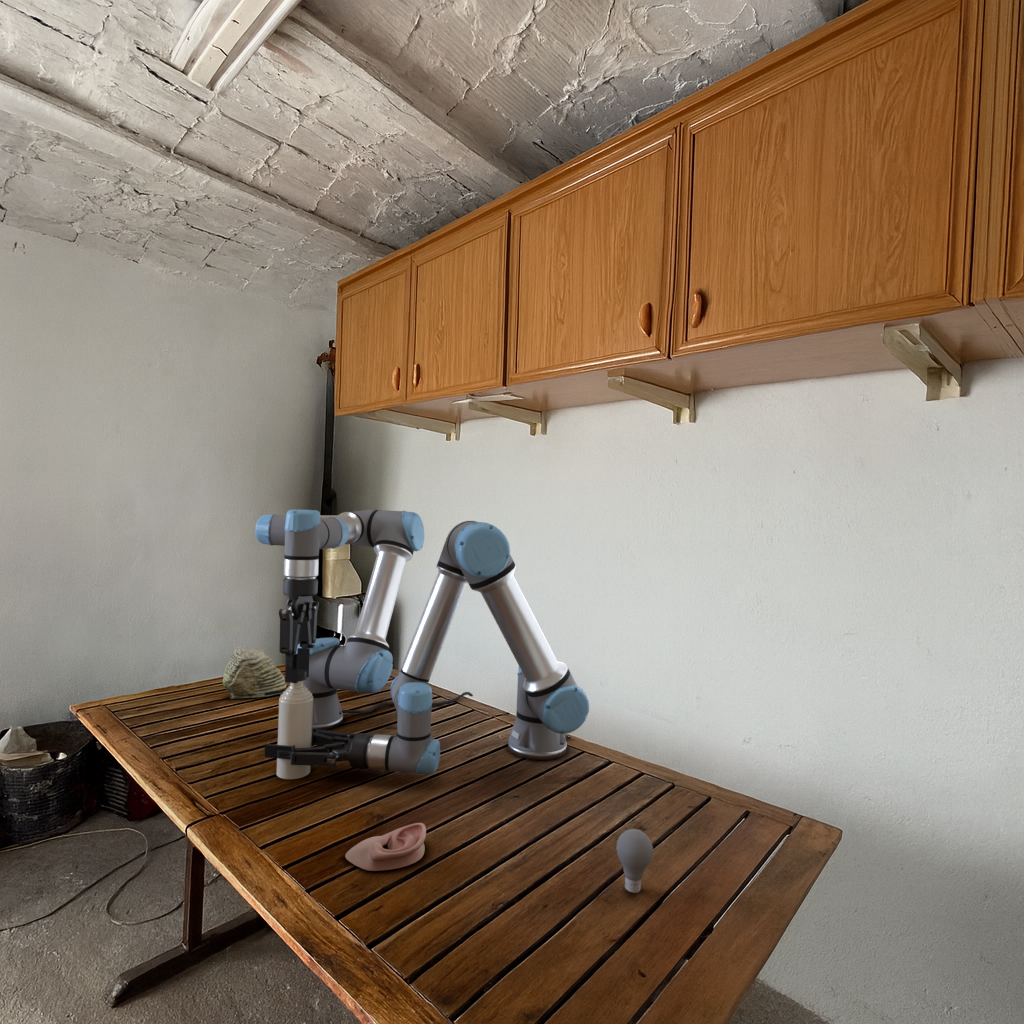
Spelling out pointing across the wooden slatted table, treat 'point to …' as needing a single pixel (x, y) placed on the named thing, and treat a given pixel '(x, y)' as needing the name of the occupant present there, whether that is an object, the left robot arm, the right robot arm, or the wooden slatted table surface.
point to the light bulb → (634, 857)
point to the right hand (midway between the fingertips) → (274, 743)
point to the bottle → (294, 727)
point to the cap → (302, 674)
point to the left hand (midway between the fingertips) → (297, 679)
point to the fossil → (252, 674)
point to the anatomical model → (390, 849)
